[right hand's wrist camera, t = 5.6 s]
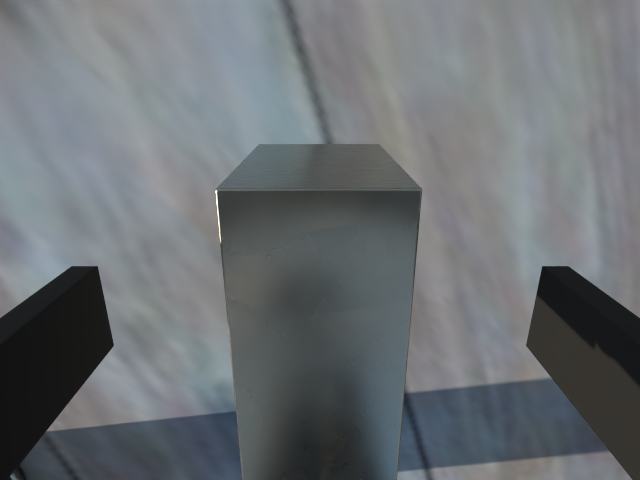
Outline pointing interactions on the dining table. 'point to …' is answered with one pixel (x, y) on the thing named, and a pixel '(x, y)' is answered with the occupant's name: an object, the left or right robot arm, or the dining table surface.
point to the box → (319, 307)
